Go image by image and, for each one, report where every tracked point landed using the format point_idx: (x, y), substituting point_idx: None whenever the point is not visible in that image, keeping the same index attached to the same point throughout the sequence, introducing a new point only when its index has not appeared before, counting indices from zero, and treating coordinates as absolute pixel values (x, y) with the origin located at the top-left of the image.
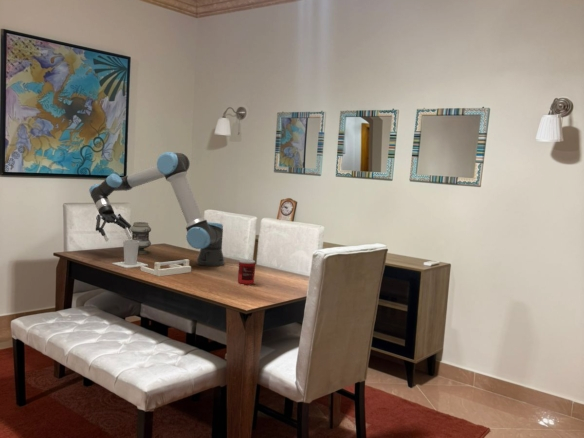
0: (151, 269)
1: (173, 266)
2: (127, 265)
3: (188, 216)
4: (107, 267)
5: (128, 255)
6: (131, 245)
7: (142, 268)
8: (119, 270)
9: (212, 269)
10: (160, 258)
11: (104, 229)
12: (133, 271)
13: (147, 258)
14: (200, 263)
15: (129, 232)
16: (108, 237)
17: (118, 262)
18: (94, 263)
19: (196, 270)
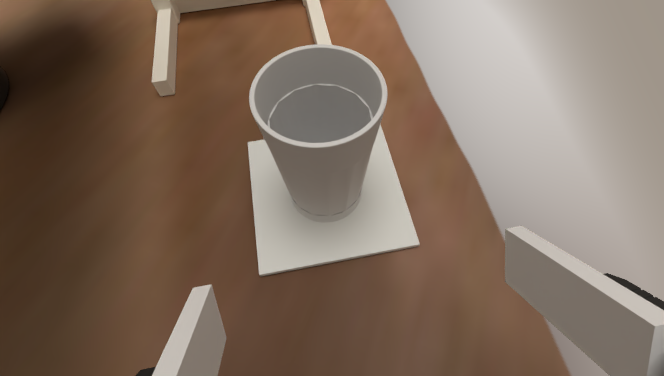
0: (316, 6)
1: (172, 64)
2: None
3: None
4: (466, 163)
5: (351, 130)
6: (339, 68)
7: None
8: (423, 92)
9: (52, 20)
10: (22, 339)
11: (648, 310)
12: None
13: (104, 372)
14: (2, 89)
15: (176, 338)
16: (517, 234)
17: (379, 245)
18: None
19: (123, 21)
